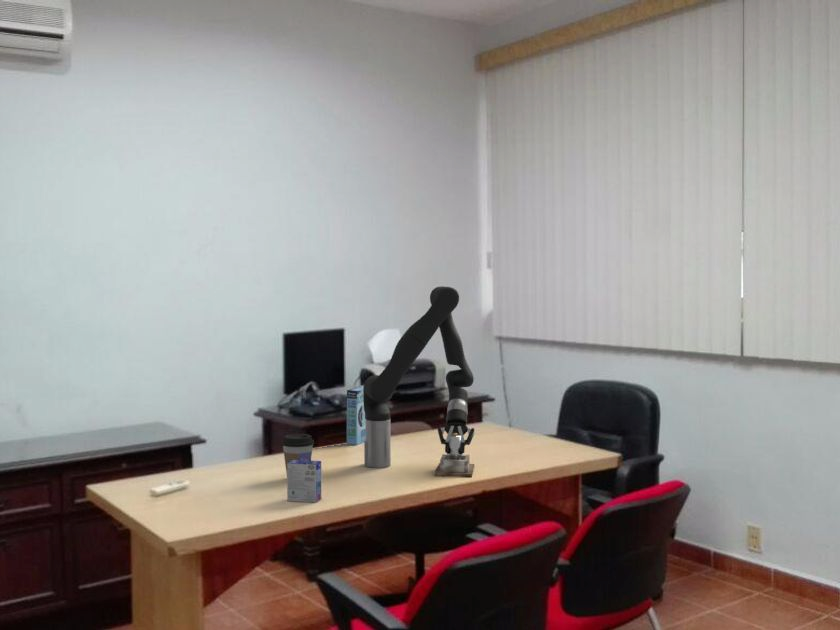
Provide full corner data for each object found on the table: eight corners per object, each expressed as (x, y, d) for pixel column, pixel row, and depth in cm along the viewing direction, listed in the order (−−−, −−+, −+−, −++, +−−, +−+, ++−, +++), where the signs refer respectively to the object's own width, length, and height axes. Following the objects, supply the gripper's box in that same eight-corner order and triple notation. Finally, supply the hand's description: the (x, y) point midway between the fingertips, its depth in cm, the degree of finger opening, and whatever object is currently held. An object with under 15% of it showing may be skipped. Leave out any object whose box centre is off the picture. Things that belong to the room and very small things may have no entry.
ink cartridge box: (322, 498, 272) (322, 453, 271) (316, 503, 266) (316, 457, 266) (292, 496, 274) (292, 451, 273) (286, 501, 268) (286, 455, 268)
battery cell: (448, 467, 307) (448, 434, 306) (449, 464, 311) (449, 432, 310) (460, 467, 306) (460, 434, 305) (461, 464, 311) (461, 432, 310)
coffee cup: (305, 484, 290) (304, 440, 289) (275, 481, 294) (275, 438, 293) (320, 476, 300) (320, 434, 300) (291, 474, 304) (291, 432, 304)
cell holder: (434, 476, 301) (434, 461, 301) (439, 465, 317) (439, 452, 317) (471, 477, 300) (471, 462, 300) (474, 466, 316) (474, 453, 316)
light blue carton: (364, 436, 374) (364, 384, 373) (375, 436, 373) (374, 384, 372) (346, 444, 356) (345, 389, 355) (357, 445, 354) (357, 390, 353)
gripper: (437, 407, 316) (433, 447, 304) (476, 408, 314) (474, 447, 303) (438, 419, 321) (435, 458, 310) (476, 420, 320) (474, 459, 308)
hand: (454, 453), depth 306 cm, fingers closed on battery cell, 4 cm apart
